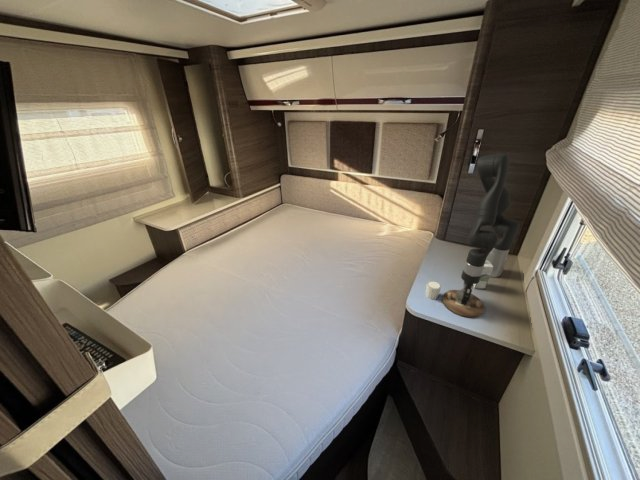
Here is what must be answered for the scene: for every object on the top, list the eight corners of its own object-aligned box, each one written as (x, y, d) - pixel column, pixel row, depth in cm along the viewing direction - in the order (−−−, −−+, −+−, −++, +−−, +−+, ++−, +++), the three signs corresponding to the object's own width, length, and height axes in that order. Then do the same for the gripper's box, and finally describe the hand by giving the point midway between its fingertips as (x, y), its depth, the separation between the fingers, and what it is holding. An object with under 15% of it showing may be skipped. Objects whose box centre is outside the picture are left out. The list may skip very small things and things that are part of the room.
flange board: (444, 288, 139) (445, 282, 137) (483, 298, 131) (485, 292, 129) (440, 310, 125) (441, 303, 123) (483, 322, 117) (485, 316, 116)
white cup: (437, 301, 130) (440, 290, 127) (422, 297, 133) (425, 286, 130) (439, 294, 135) (442, 283, 132) (426, 289, 138) (428, 278, 135)
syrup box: (480, 282, 143) (487, 259, 136) (485, 289, 137) (493, 266, 130) (469, 282, 143) (476, 259, 136) (474, 289, 138) (481, 266, 131)
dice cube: (463, 305, 125) (465, 297, 123) (454, 299, 129) (456, 291, 126) (470, 302, 127) (472, 294, 124) (461, 296, 131) (463, 288, 128)
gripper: (464, 261, 126) (456, 287, 133) (462, 277, 115) (454, 305, 123) (482, 264, 123) (473, 292, 130) (482, 282, 112) (472, 310, 119)
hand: (464, 298), depth 126 cm, fingers open, 8 cm apart
